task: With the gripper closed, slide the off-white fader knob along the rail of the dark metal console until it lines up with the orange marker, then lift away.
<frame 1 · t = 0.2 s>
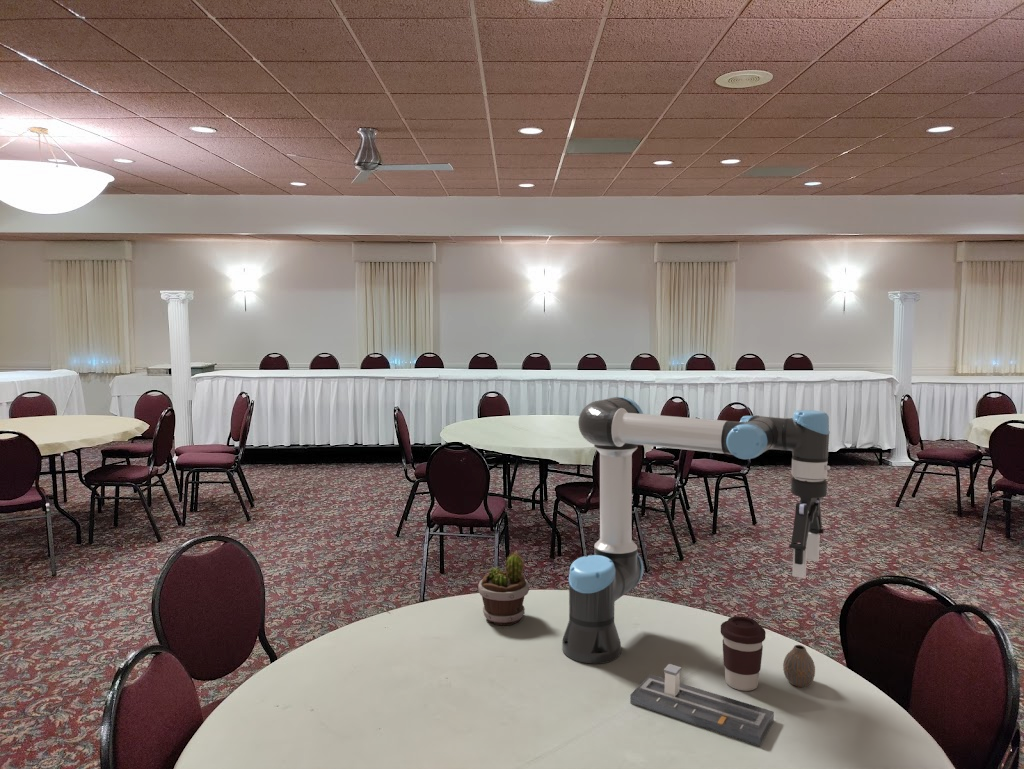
hand: (805, 568, 156), 28 cm above the table, fingers open, 13 cm apart
flowerpot: (503, 619, 195), on the table
fader knob: (672, 680, 150), point 5 cm above the table, slide at -6.5 cm
vase: (798, 683, 159), on the table
coffee cup: (741, 684, 159), on the table
console: (700, 711, 147), on the table
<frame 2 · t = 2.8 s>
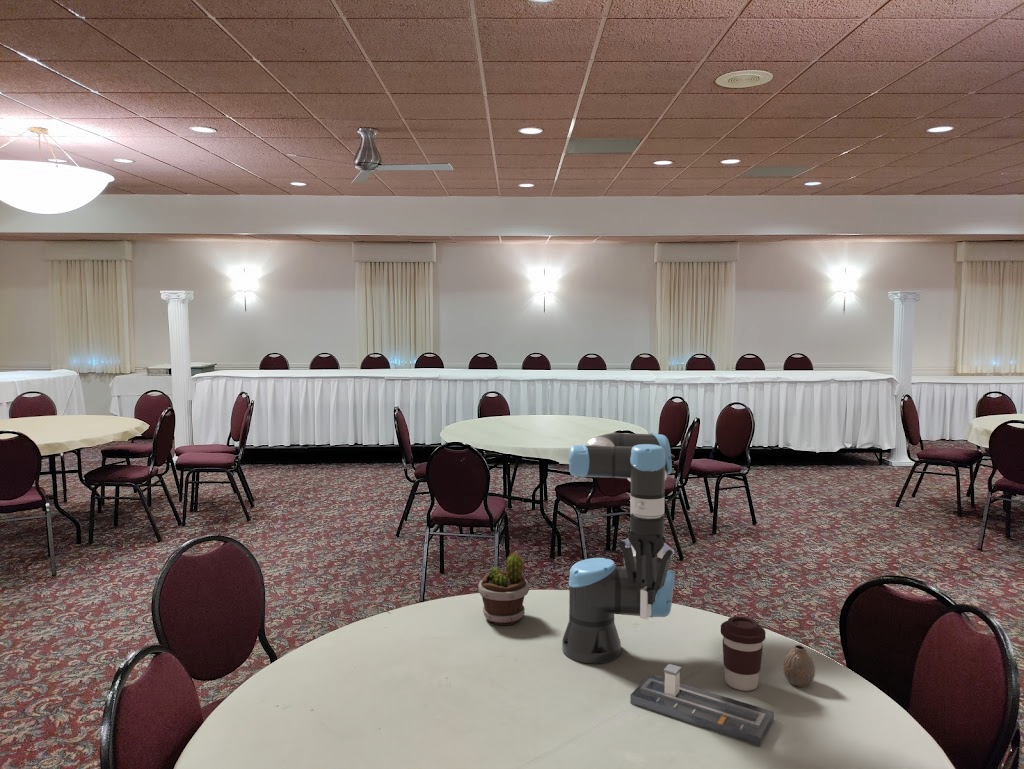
hand: (645, 616, 153), 18 cm above the table, fingers closed
nothing on the table moved.
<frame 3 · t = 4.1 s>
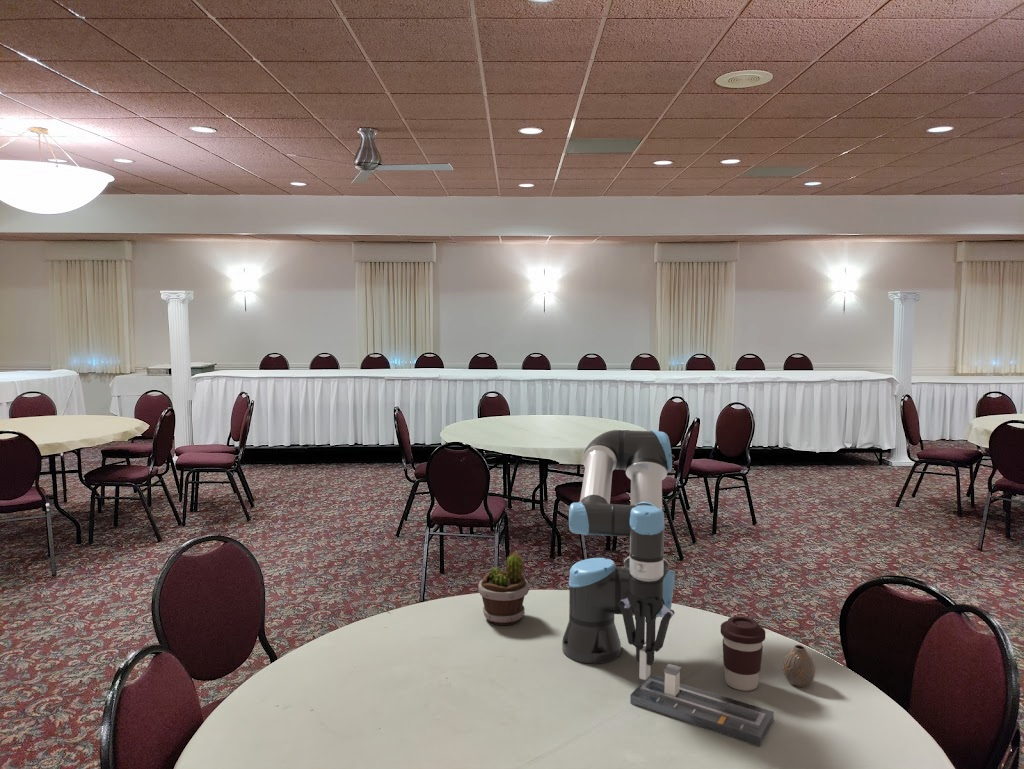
hand: (644, 676, 154), 4 cm above the table, fingers closed
nothing on the table moved.
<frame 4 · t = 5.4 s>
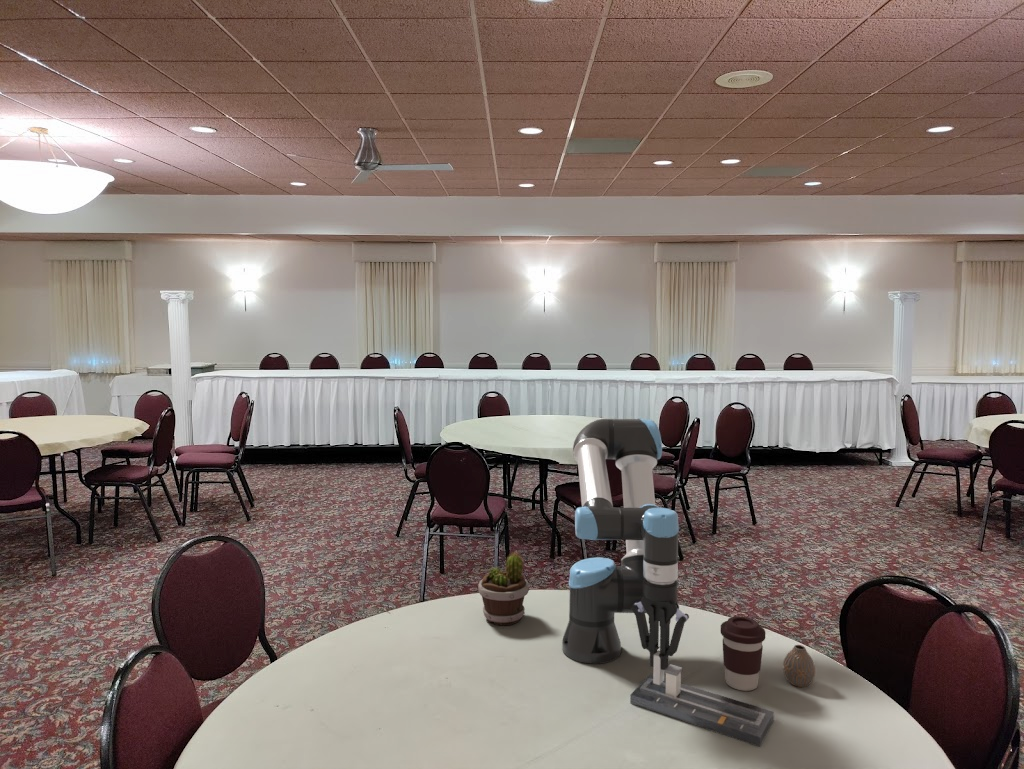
hand: (658, 681, 152), 4 cm above the table, fingers closed
fader knob: (673, 680, 150), point 5 cm above the table, slide at -6.2 cm, touching gripper
everything else where it was.
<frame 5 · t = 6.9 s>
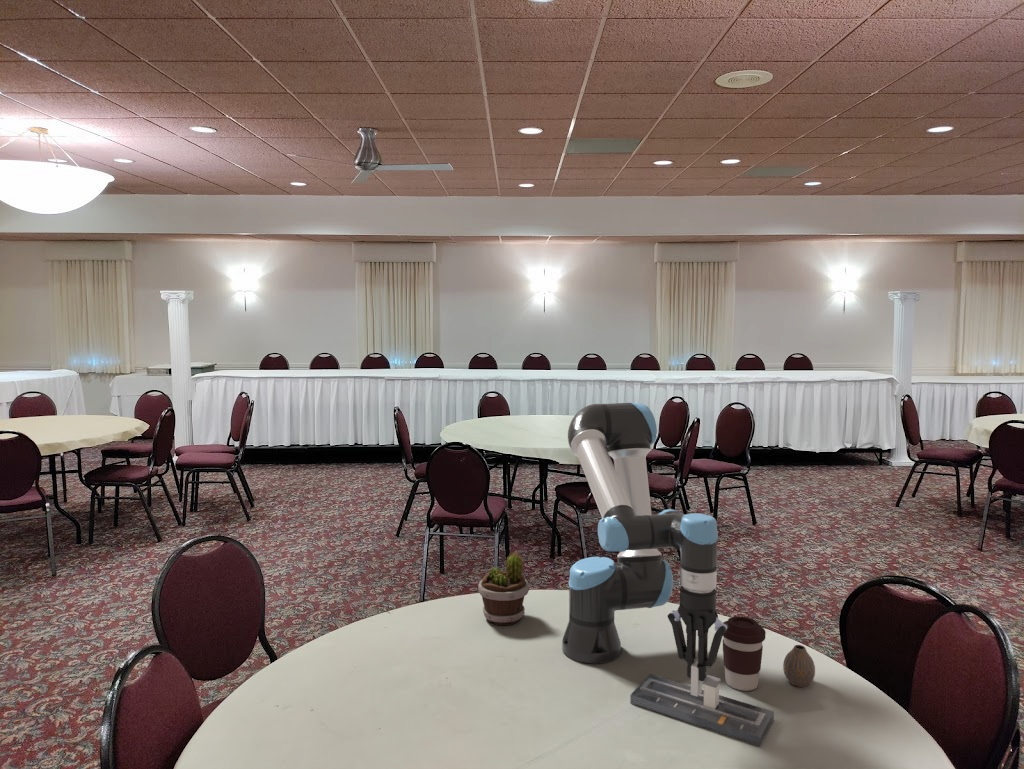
hand: (696, 692, 147), 4 cm above the table, fingers closed
fader knob: (711, 692, 145), point 5 cm above the table, slide at 2.4 cm, touching gripper
everything else where it was.
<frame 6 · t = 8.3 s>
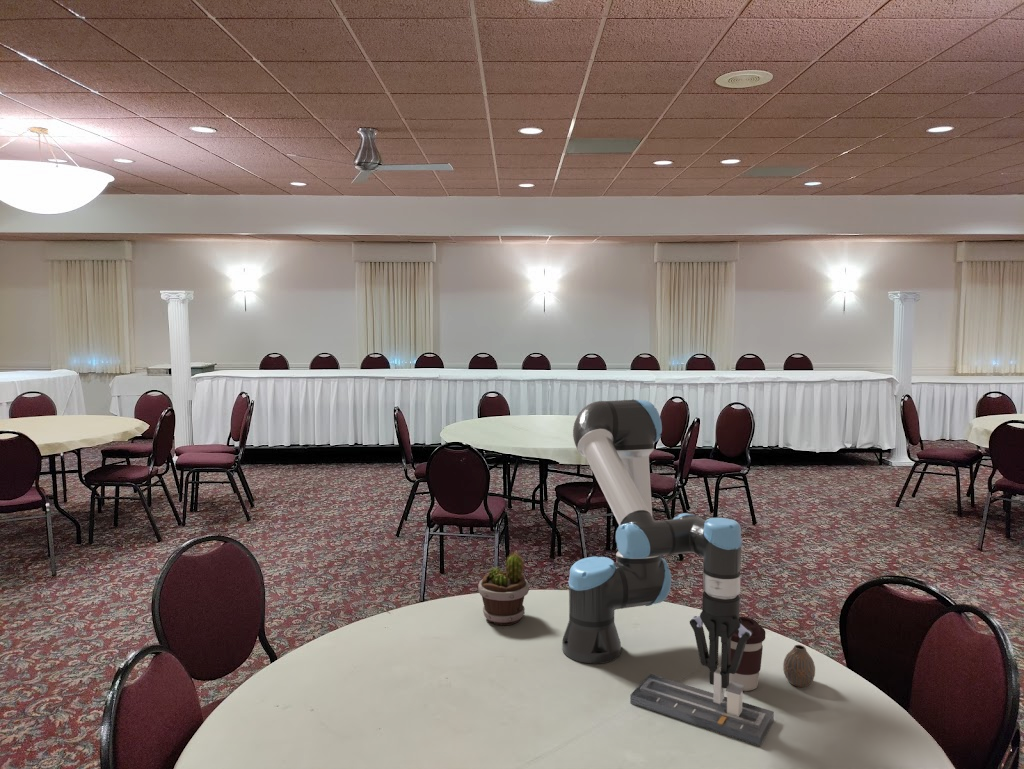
hand: (718, 700, 144), 4 cm above the table, fingers closed
fader knob: (734, 699, 143), point 5 cm above the table, slide at 7.3 cm, touching gripper
everything else where it was.
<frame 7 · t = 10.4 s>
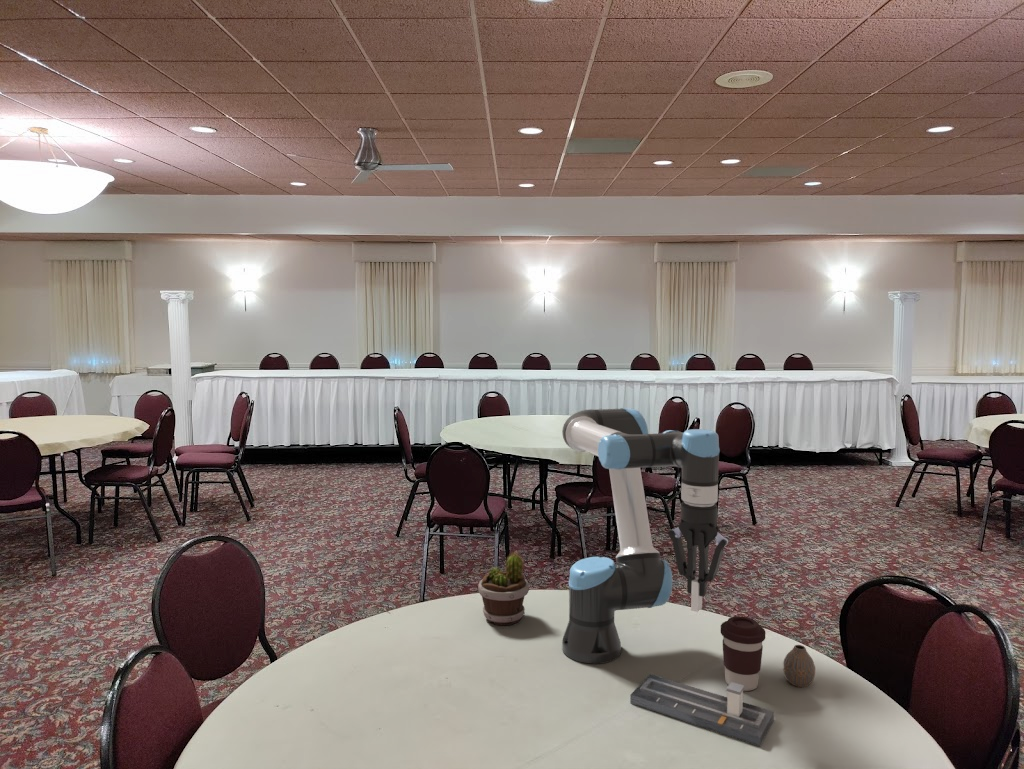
hand: (696, 608, 147), 23 cm above the table, fingers closed
fader knob: (735, 699, 142), point 5 cm above the table, slide at 7.4 cm
everything else where it was.
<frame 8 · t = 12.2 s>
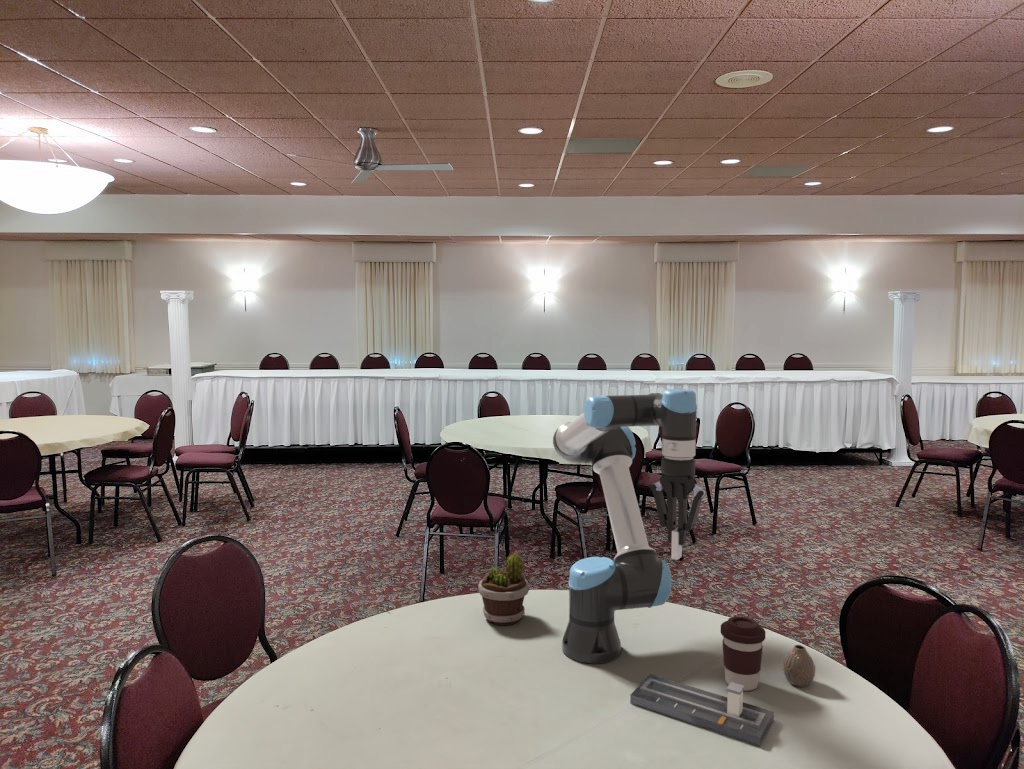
hand: (676, 557, 156), 30 cm above the table, fingers closed
nothing on the table moved.
at the end: fader knob slide at 7.4 cm; the gripper is holding nothing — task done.
